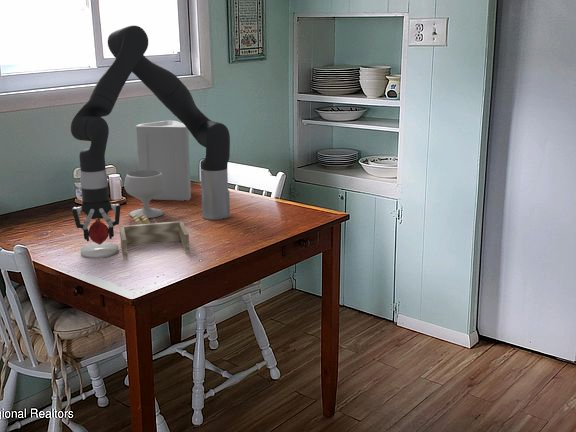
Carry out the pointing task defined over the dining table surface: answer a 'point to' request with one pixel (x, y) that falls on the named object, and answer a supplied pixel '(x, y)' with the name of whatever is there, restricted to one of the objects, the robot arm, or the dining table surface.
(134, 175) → the chalice
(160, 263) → the dining table surface
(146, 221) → the ammunition
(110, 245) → the white flat disc
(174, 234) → the wooden plank arch
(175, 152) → the tall white box
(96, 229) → the onion
